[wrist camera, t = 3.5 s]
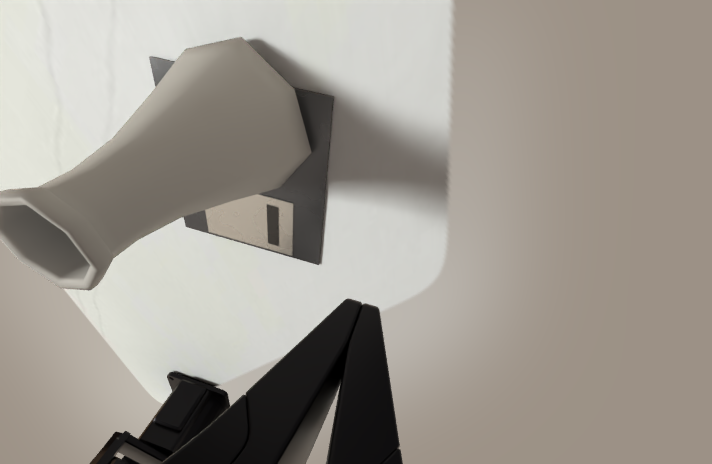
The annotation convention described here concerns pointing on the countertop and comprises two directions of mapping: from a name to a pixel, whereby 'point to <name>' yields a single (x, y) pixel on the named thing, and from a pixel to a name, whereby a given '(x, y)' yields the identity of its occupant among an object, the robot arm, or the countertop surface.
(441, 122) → the countertop surface
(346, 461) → the robot arm
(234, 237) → the floppy disk
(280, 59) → the countertop surface
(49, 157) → the countertop surface
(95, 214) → the flask
